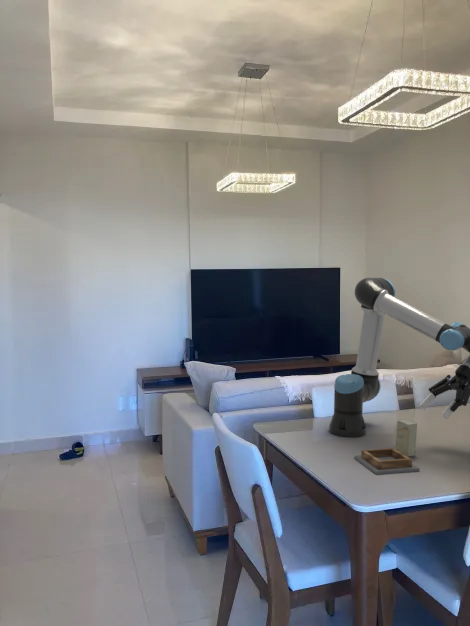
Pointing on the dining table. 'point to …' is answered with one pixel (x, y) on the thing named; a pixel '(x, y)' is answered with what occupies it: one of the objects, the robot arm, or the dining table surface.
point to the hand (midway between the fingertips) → (432, 411)
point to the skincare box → (406, 437)
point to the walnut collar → (398, 462)
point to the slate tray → (385, 471)
